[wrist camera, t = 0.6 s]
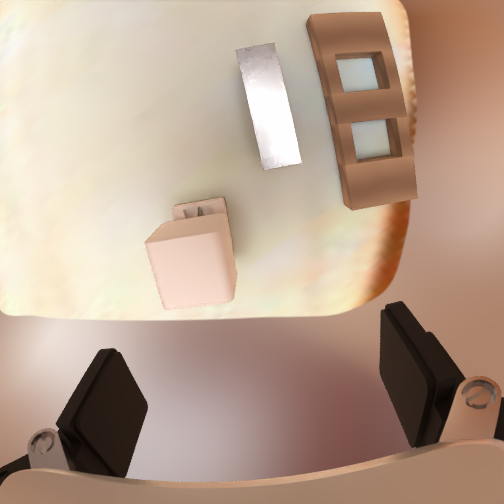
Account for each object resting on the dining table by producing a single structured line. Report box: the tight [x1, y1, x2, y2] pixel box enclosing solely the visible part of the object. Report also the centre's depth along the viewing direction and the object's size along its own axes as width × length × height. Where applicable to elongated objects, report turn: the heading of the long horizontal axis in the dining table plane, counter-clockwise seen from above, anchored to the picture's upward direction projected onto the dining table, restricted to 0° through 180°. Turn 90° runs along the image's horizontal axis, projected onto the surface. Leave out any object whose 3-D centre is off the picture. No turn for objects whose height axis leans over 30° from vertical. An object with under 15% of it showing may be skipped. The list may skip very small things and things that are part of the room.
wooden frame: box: [306, 12, 418, 210], centre depth 28 cm, size 20×8×3 cm, turn 12°
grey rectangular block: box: [236, 43, 301, 170], centre depth 26 cm, size 10×3×8 cm, turn 12°
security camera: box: [145, 197, 237, 310], centre depth 30 cm, size 6×7×10 cm
